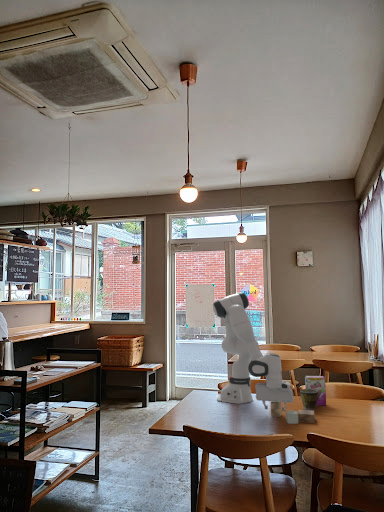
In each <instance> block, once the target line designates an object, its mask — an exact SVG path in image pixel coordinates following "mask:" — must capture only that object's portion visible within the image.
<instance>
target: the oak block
mask: <svg viewBox="0 0 384 512" xmlns="http://www.w3.org/2000/svg"><path fill="white" fill-rule="evenodd" d="M281 416H282V402H275V401H270V417H275V418H276V417H277V418H281Z"/></svg>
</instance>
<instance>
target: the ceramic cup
mask: <svg viewBox="0 0 384 512" xmlns="http://www.w3.org/2000/svg"><path fill="white" fill-rule="evenodd" d="M299 393H300V397H301V398H300V399H301V403H302V406H303V410H312V411H315V410H316V409H317V406H316V405H317V398H318V391H317V390H313V389H306V388H304V389H300V391H299Z"/></svg>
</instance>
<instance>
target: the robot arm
mask: <svg viewBox="0 0 384 512" xmlns="http://www.w3.org/2000/svg"><path fill="white" fill-rule="evenodd" d="M248 297H249V296H247V294H246V293H244V292H243V291H242V292H237V293H234V294H230V295H227V296H225V297H223V298H220V299H217V300H216V301H214V302H213V304H212V309H213V310H212V311H213V312H214V314H215V315H216V317H217V318H221V319H223V322H224V326H225V330H226V333H225V334H226V335H225V338H223V339H222V341H221V348H222V351H223V352H224V353H226V354H227V353H228V354H229V355H238V358H237V360H236V361H233V363H232V365H231V376H230V377H229V378H228V383H227V384H226V385H225V386H224V387H222V389H221V390H220V395H218V396H217V398H216V401H217V400H218V401H217V402H221V401H222V403H231V404H238V405H240V404H243V403H244V404H245V403H251V402H253V401H254V399H253V395H252V389H251V386H252V385H251V384H252V383H251V376H252V377H254V378H255V377H256V378H260V377H265V382H257V383H256V384H255V385H254V388H255V399H256V400H257V401H262V405H263V406H264V410H268V407H269V406H268V404H266V402H271V401H275V402H281V403H283V404H284V405H283V406H282V405H281V412H282V411H284V412H286V407H287V405H288V403H289V404H290V403H293V402H294V400H295V399H294V392H293V389H292V387H291V383H290V382H289V381H287V380H283V377H282V371H283V369H282V360H281V357H280V355H278V354H276V353H272V352H268V353H265V354H264V355H263V353H262V352H261V349H260V346H259V342H258V341H257V339H256V337H255V333H254V329H253V325H252V323H251V319H250V318H249V315H248V313H247V311H246V309H247V308H249V306H250V302H249V298H248ZM250 375H251V376H250Z"/></svg>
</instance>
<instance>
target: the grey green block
mask: <svg viewBox="0 0 384 512" xmlns="http://www.w3.org/2000/svg"><path fill="white" fill-rule="evenodd" d="M285 414H286V415H285V418H286V419H285V421H286V422H287V424H296V425H297V424H299V422H298V411H296V410H285Z"/></svg>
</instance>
